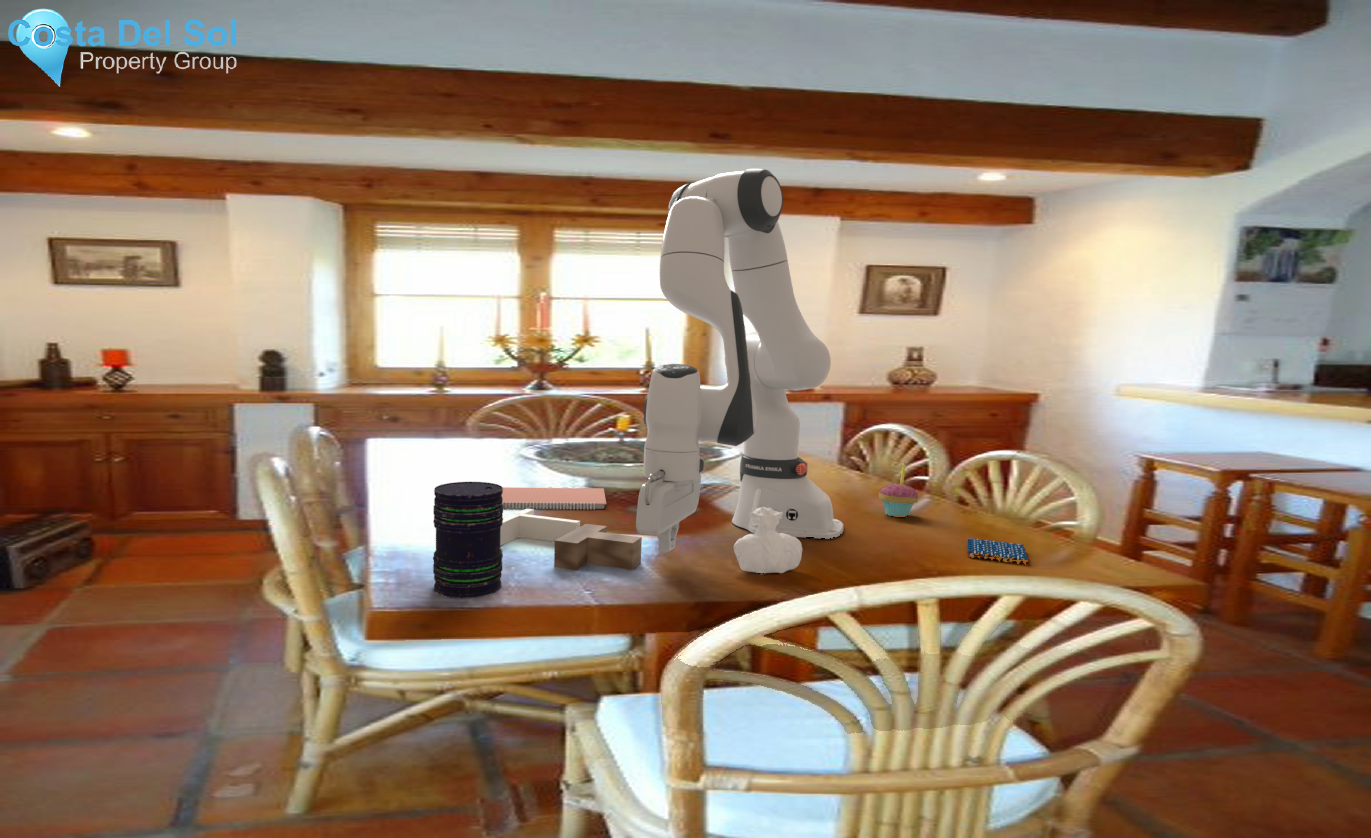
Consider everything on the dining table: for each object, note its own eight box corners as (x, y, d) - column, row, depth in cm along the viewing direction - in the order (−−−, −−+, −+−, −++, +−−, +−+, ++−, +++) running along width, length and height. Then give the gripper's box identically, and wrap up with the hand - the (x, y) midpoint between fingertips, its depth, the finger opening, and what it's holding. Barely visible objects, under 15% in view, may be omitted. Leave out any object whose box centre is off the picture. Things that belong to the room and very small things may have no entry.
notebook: (475, 511, 165) (475, 502, 165) (484, 494, 182) (484, 486, 182) (606, 512, 169) (606, 503, 169) (603, 495, 186) (603, 487, 185)
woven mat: (1030, 569, 140) (1031, 558, 140) (966, 561, 143) (967, 550, 143) (1025, 553, 150) (1026, 543, 150) (966, 546, 153) (967, 536, 153)
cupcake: (886, 509, 181) (890, 457, 179) (922, 515, 176) (927, 462, 175) (871, 515, 174) (875, 461, 173) (909, 522, 169) (913, 467, 168)
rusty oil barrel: (436, 601, 111) (437, 497, 109) (429, 580, 120) (429, 483, 118) (508, 594, 115) (509, 493, 113) (496, 574, 124) (497, 480, 122)
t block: (649, 557, 136) (650, 531, 136) (622, 577, 125) (623, 549, 124) (585, 548, 140) (585, 523, 139) (554, 567, 128) (554, 540, 128)
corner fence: (588, 537, 147) (589, 516, 147) (518, 577, 122) (519, 552, 122) (526, 529, 151) (526, 508, 150) (446, 566, 126) (446, 542, 126)
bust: (797, 579, 134) (785, 518, 140) (814, 563, 128) (800, 500, 133) (730, 583, 131) (720, 520, 136) (744, 566, 125) (732, 501, 130)
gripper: (667, 478, 116) (662, 570, 117) (708, 459, 135) (703, 538, 137) (627, 473, 118) (623, 564, 119) (673, 456, 137) (669, 534, 139)
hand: (666, 550), depth 128 cm, fingers closed
